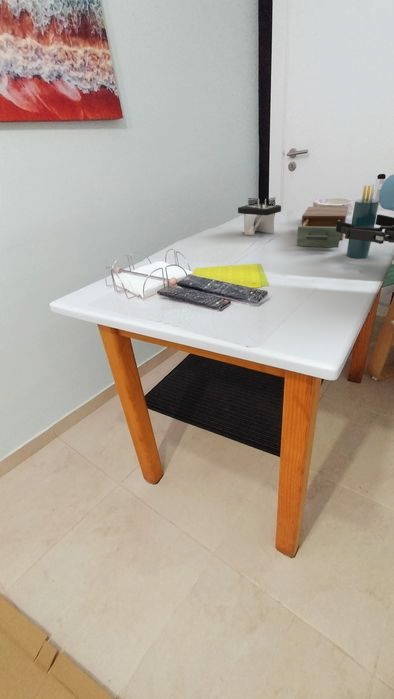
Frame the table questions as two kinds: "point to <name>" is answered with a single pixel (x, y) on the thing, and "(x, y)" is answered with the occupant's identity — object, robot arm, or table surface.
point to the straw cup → (363, 222)
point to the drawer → (318, 233)
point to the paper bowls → (335, 203)
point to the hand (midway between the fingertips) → (357, 222)
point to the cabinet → (326, 214)
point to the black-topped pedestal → (259, 216)
